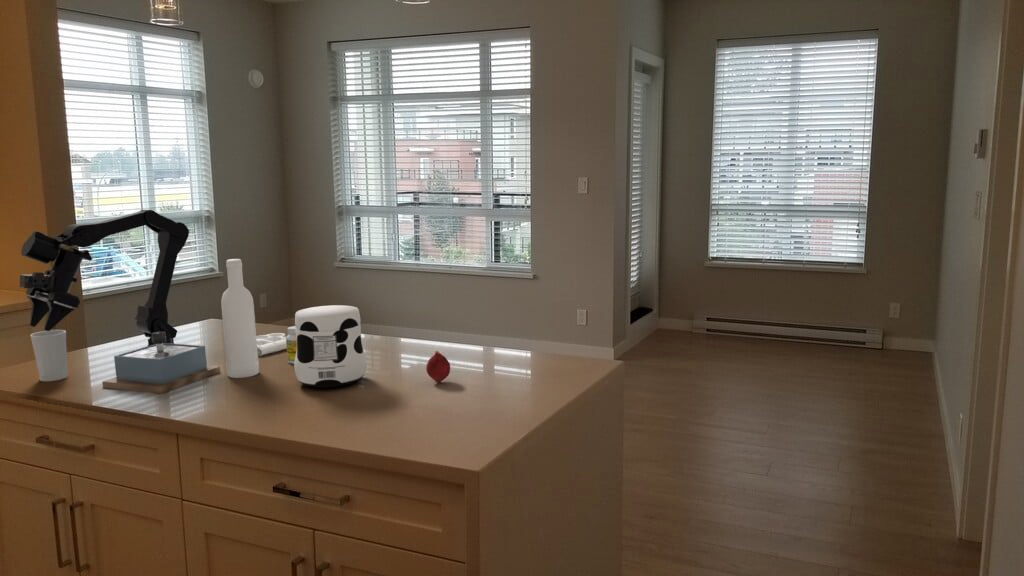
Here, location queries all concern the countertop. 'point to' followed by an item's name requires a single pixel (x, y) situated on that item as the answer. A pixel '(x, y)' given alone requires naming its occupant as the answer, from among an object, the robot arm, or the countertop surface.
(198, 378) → the serving board
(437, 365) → the onion
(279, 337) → the white muffin tray
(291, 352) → the supplement bottle
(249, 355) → the bottle
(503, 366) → the countertop surface
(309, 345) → the milk container
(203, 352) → the blue grey open box
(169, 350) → the lid with knob
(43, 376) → the cup
